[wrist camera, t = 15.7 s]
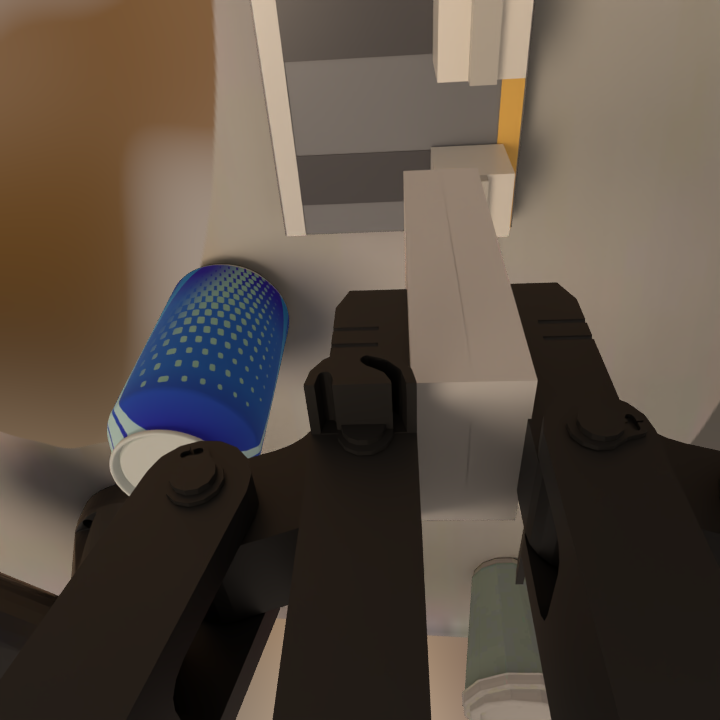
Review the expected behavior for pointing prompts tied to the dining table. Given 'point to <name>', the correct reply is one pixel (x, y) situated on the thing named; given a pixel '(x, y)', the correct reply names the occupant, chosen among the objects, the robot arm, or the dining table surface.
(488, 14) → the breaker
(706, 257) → the dining table surface
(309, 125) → the panel
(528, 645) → the disposable coffee cup
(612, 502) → the robot arm
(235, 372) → the beer can
